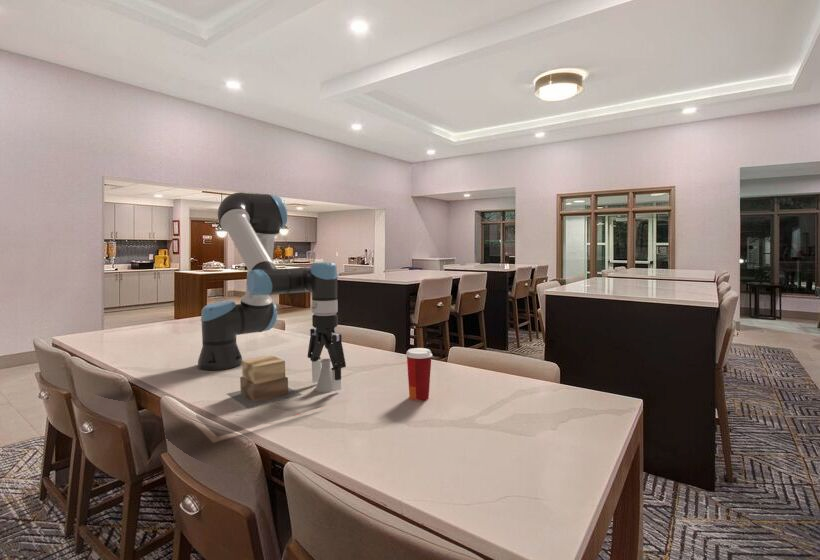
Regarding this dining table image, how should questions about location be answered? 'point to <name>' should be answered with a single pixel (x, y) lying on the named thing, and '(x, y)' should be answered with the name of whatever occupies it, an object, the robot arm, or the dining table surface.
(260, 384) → the walnut block
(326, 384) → the flask
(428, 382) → the paper cup
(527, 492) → the dining table surface
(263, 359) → the oak block
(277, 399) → the grey mat
